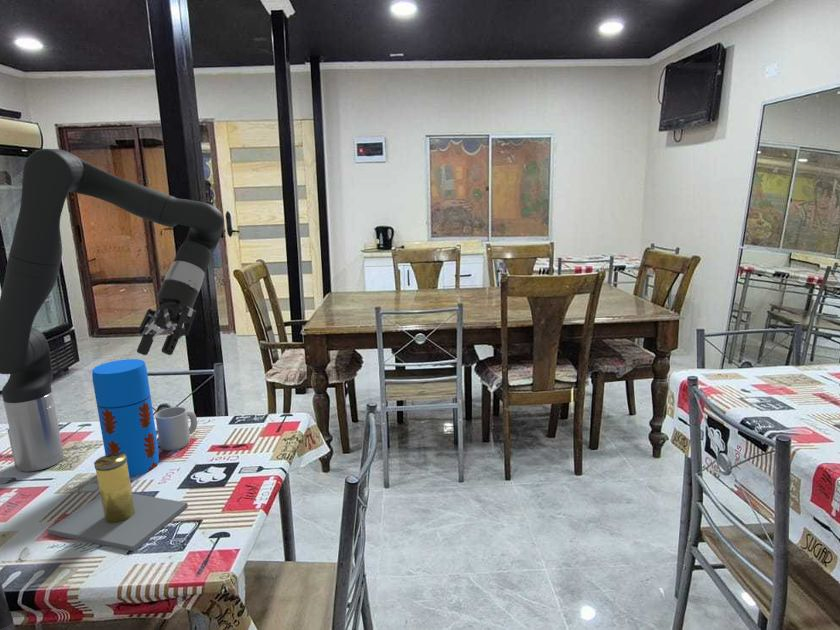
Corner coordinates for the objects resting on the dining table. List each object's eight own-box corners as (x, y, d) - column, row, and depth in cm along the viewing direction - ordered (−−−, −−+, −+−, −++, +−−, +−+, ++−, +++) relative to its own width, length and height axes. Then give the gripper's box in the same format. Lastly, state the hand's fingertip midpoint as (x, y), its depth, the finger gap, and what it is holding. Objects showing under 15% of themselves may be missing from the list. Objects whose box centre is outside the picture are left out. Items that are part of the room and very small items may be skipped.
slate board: (48, 533, 99) (47, 529, 98) (109, 493, 112) (109, 489, 111) (134, 551, 93) (133, 546, 93) (187, 507, 106) (187, 502, 106)
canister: (97, 521, 100) (87, 464, 98) (120, 505, 106) (111, 451, 103) (119, 525, 99) (109, 468, 96) (142, 509, 104) (133, 454, 101)
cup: (154, 446, 133) (149, 413, 131) (191, 432, 141) (187, 401, 139) (168, 454, 129) (164, 420, 127) (206, 439, 136) (202, 407, 134)
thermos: (138, 480, 117) (121, 375, 111) (97, 476, 119) (79, 373, 113) (170, 457, 127) (156, 359, 122) (132, 453, 129) (116, 357, 124)
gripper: (147, 280, 116) (117, 347, 110) (188, 275, 109) (159, 346, 103) (175, 295, 122) (148, 360, 115) (216, 291, 115) (189, 360, 108)
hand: (153, 353), depth 109 cm, fingers open, 8 cm apart
